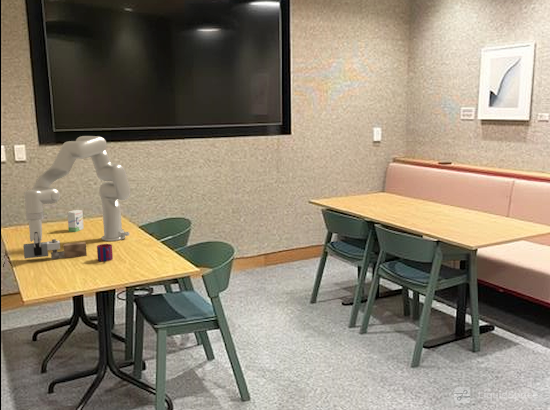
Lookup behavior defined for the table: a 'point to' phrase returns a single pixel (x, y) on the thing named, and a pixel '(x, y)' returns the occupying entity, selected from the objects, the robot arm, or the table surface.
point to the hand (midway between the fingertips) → (38, 253)
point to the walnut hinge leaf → (70, 250)
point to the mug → (104, 252)
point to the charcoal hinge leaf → (44, 247)
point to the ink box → (75, 220)
